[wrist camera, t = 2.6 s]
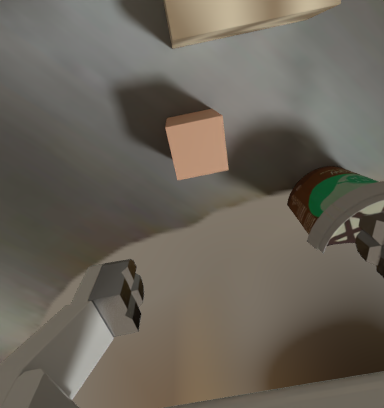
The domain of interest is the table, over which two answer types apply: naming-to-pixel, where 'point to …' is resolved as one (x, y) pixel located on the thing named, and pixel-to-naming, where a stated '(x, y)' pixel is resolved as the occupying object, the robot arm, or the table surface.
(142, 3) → the table surface
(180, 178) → the terracotta block
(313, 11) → the birch plinth
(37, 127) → the table surface
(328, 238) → the food container
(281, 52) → the table surface
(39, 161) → the table surface
